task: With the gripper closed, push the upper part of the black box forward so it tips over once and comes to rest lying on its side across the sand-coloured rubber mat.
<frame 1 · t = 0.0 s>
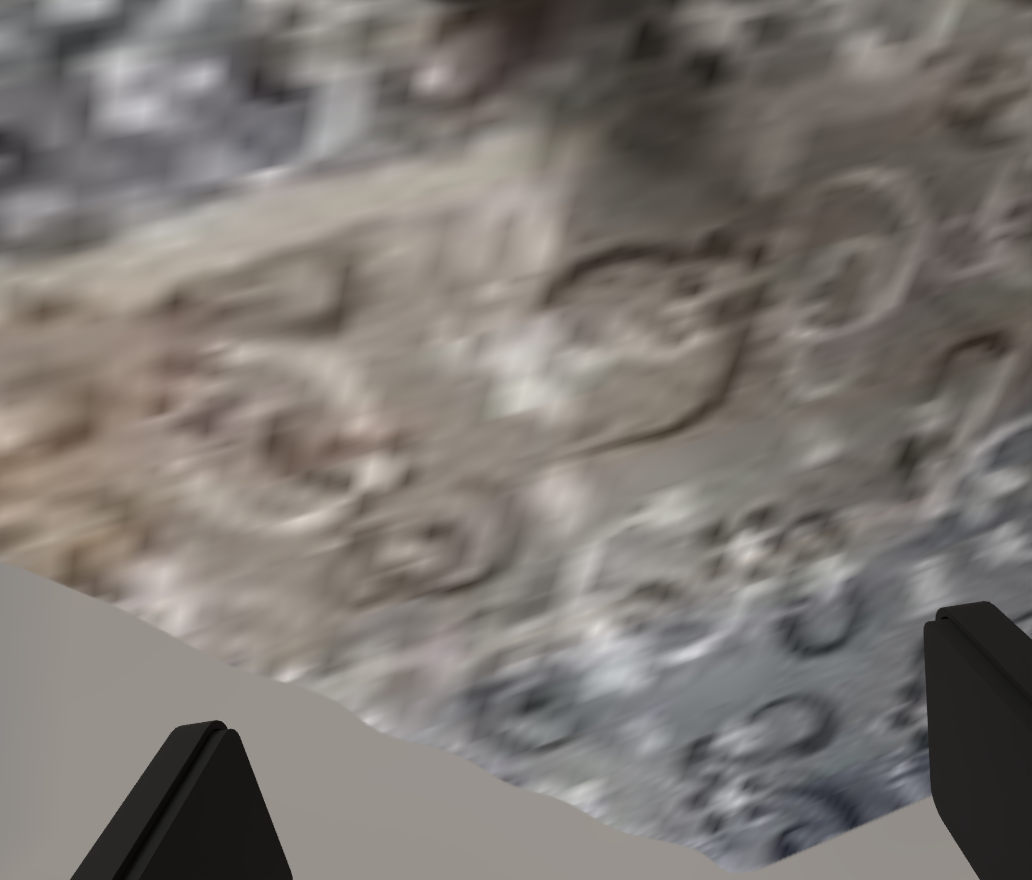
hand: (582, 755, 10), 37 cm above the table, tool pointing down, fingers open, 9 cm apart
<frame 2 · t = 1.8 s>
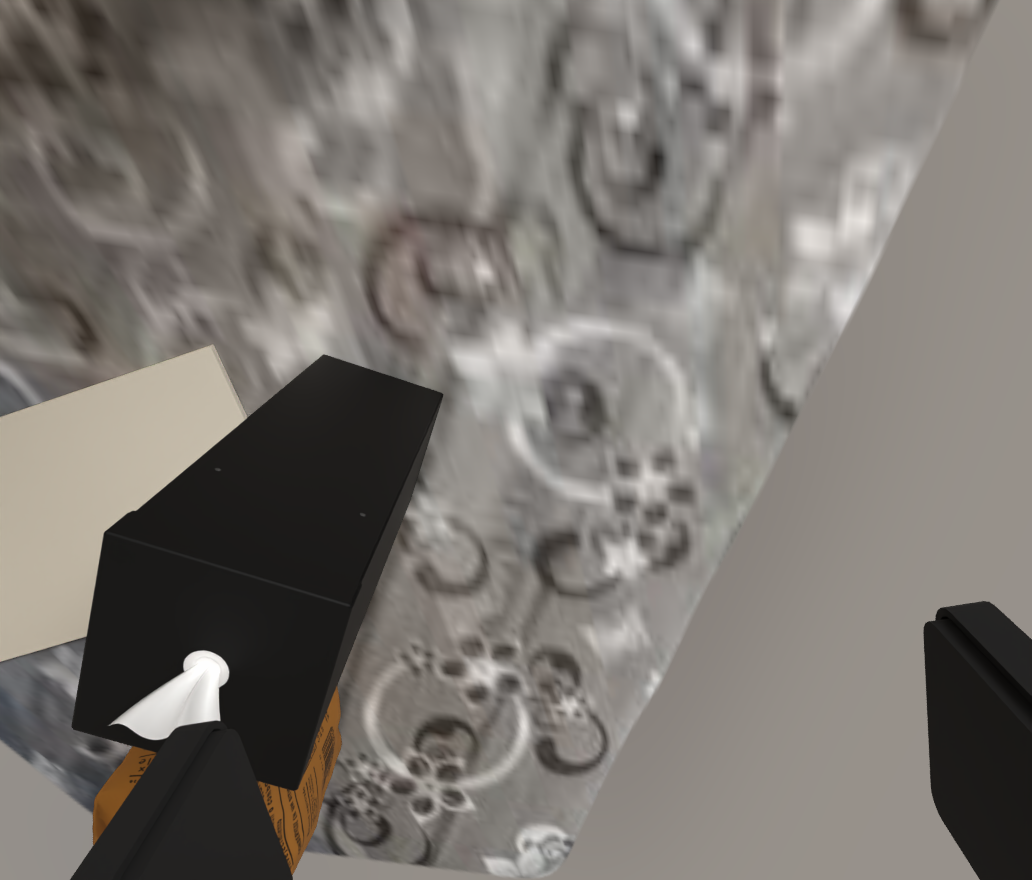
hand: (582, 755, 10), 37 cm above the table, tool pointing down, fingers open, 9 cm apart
coffee package: (278, 695, 55), on the table
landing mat: (90, 516, 50), on the table
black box: (368, 428, 48), on the table
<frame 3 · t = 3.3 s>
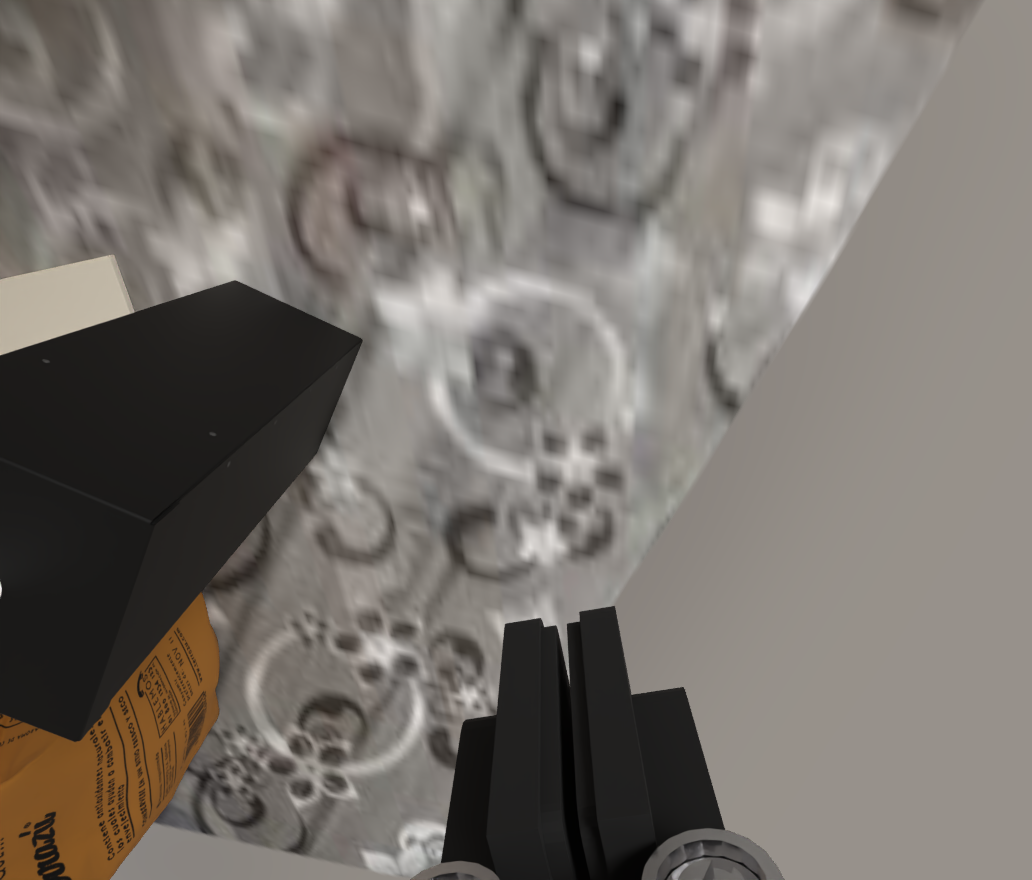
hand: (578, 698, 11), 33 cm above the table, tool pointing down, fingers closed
coffee package: (155, 652, 51), on the table
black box: (278, 368, 44), on the table
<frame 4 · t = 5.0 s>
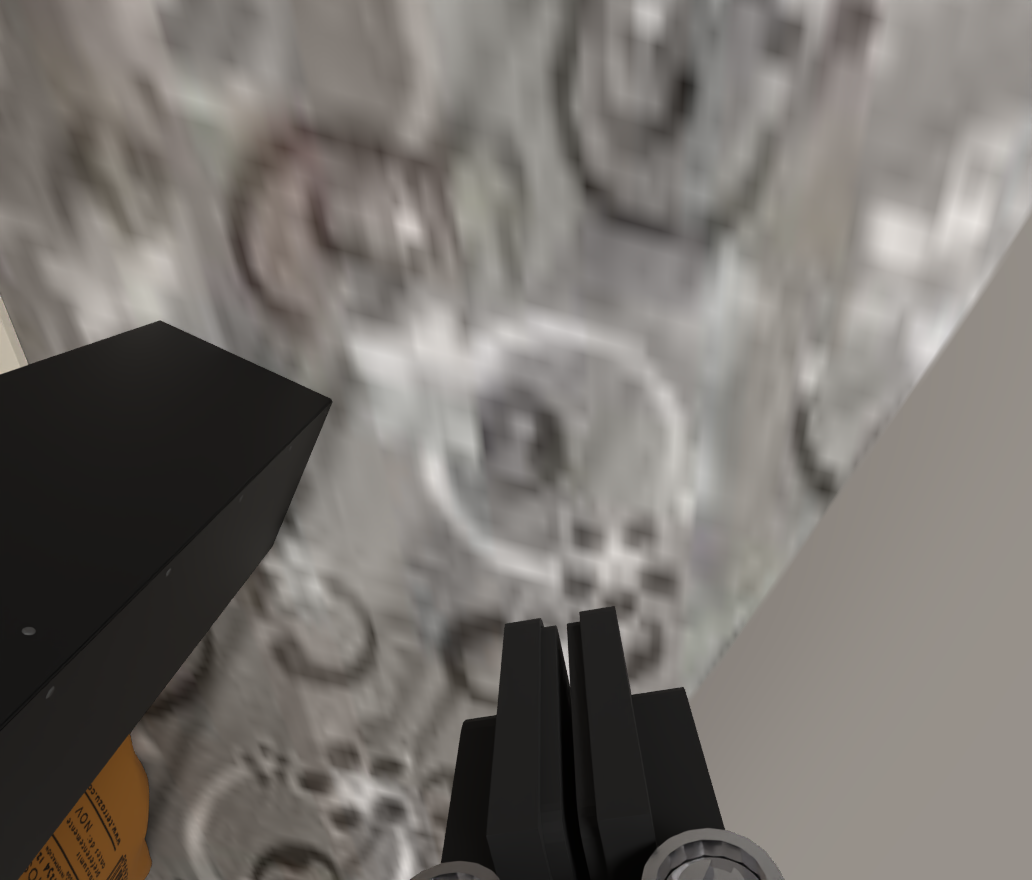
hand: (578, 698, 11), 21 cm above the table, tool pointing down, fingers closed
coffee package: (68, 790, 39), on the table
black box: (221, 436, 33), on the table
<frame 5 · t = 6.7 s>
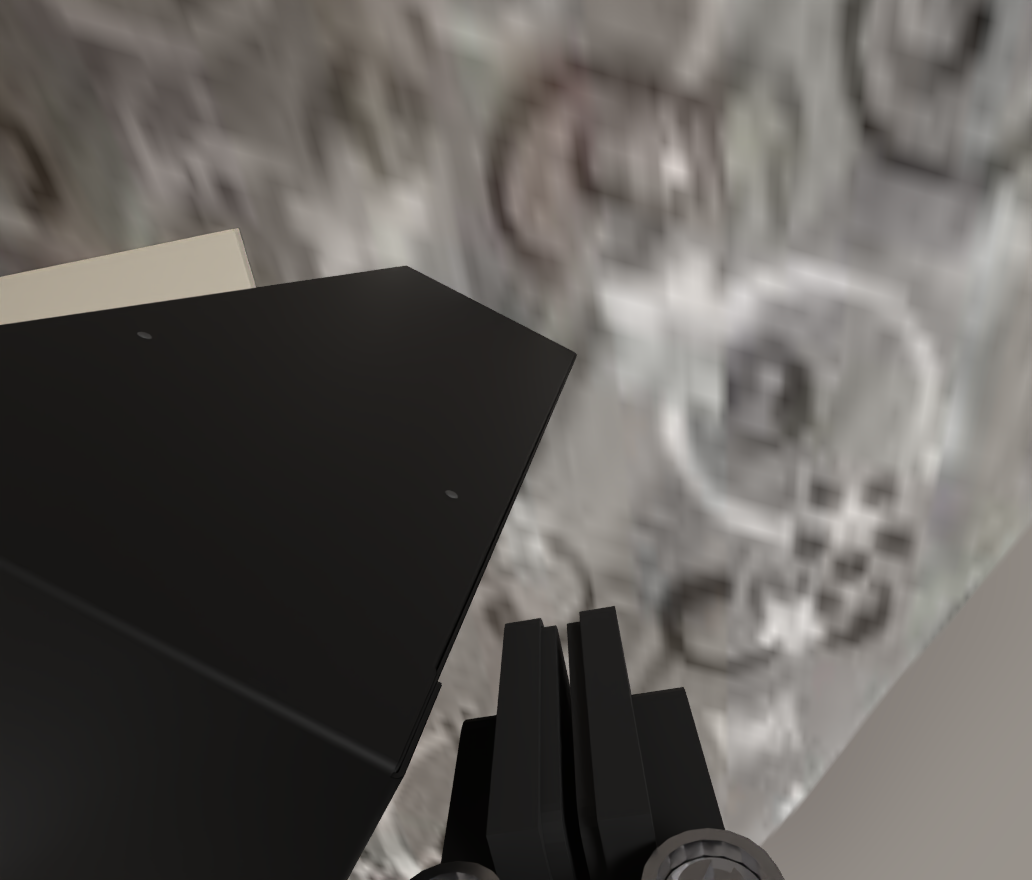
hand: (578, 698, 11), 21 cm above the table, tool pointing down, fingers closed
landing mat: (15, 468, 34), on the table
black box: (453, 391, 32), on the table
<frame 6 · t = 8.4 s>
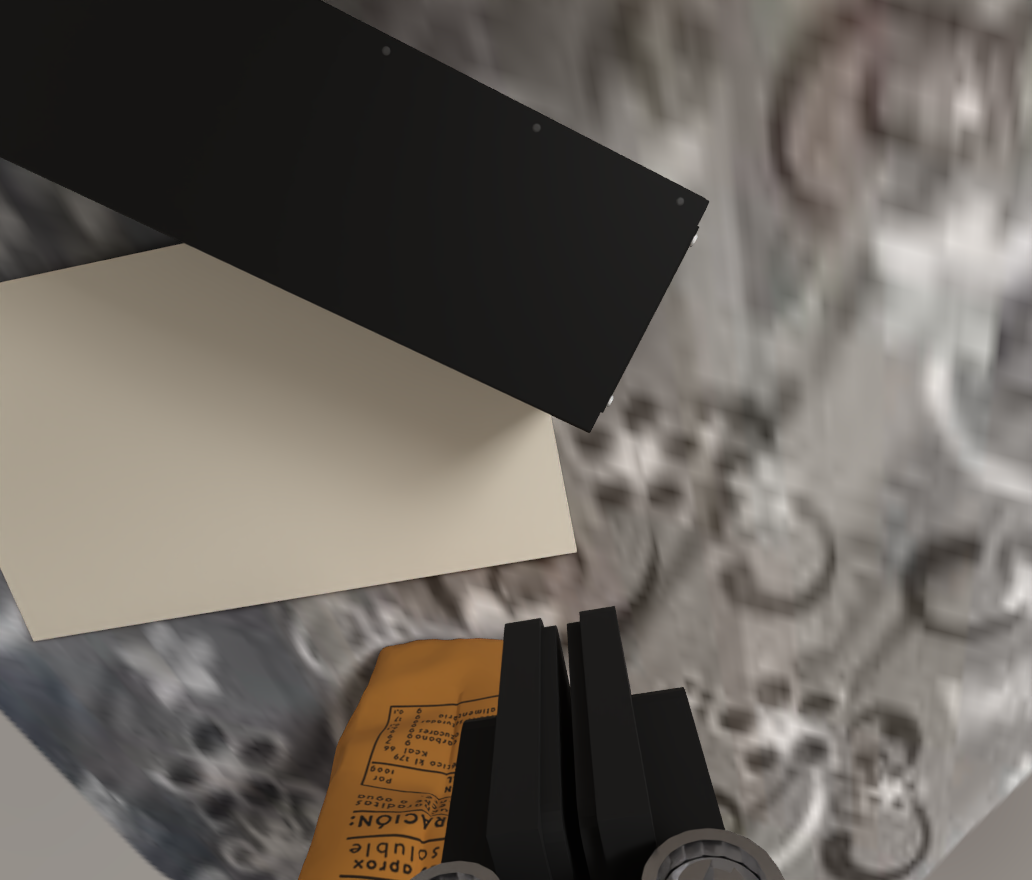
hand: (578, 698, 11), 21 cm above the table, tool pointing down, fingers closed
coffee package: (467, 730, 37), on the table
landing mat: (246, 430, 33), on the table
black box: (639, 314, 26), point 4 cm above the table, touching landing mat
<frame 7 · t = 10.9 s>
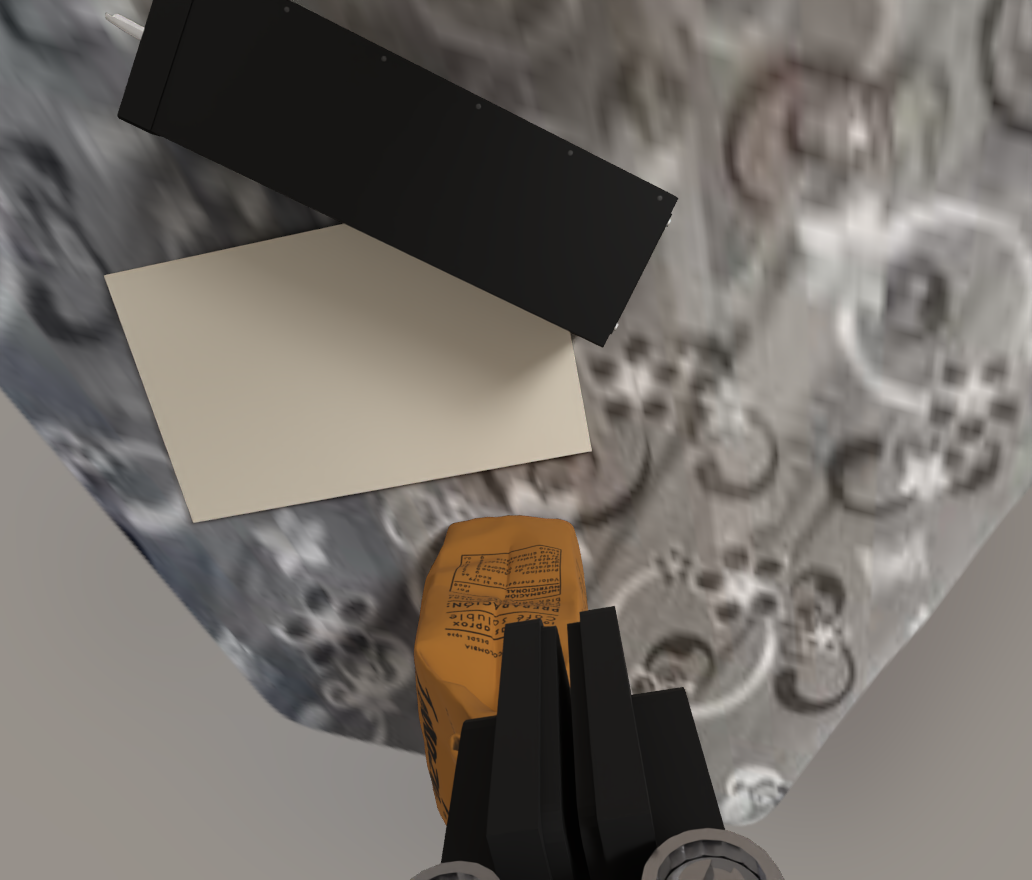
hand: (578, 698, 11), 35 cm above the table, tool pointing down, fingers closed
coffee package: (510, 591, 51), on the table
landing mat: (356, 363, 46), on the table
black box: (635, 274, 40), point 4 cm above the table, touching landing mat
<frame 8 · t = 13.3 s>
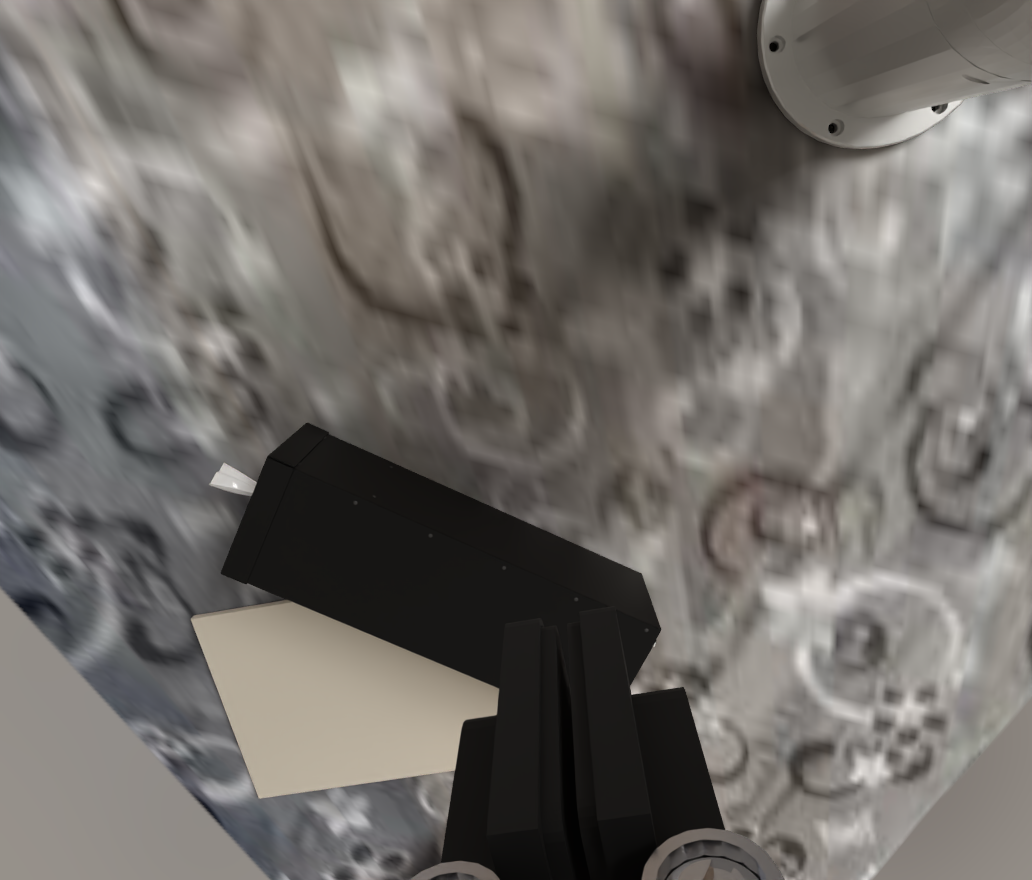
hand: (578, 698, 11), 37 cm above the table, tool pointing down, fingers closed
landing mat: (397, 682, 55), on the table
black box: (628, 650, 49), point 4 cm above the table, touching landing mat
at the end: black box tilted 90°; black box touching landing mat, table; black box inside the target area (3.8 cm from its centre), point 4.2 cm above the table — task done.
